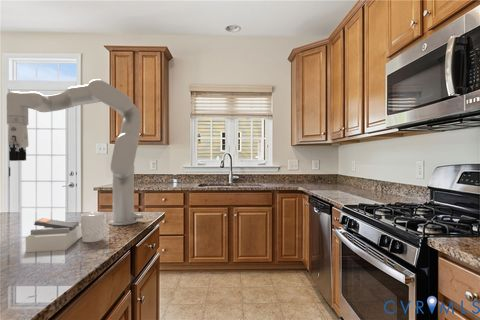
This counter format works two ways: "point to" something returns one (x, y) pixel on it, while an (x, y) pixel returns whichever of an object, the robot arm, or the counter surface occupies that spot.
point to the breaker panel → (52, 238)
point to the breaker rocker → (55, 223)
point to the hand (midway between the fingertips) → (18, 160)
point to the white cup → (92, 226)
